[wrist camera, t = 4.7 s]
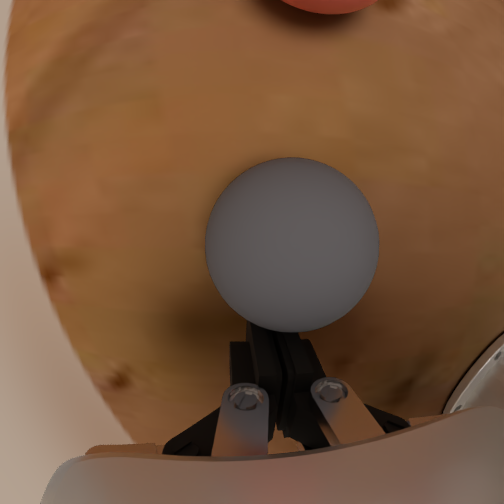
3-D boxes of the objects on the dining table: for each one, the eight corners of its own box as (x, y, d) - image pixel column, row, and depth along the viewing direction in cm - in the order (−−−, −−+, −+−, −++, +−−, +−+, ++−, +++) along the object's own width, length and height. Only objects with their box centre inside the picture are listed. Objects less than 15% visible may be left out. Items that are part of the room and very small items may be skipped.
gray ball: (366, 282, 12) (444, 232, 7) (266, 366, 11) (299, 376, 5) (287, 188, 13) (316, 98, 8) (184, 254, 12) (154, 179, 7)
